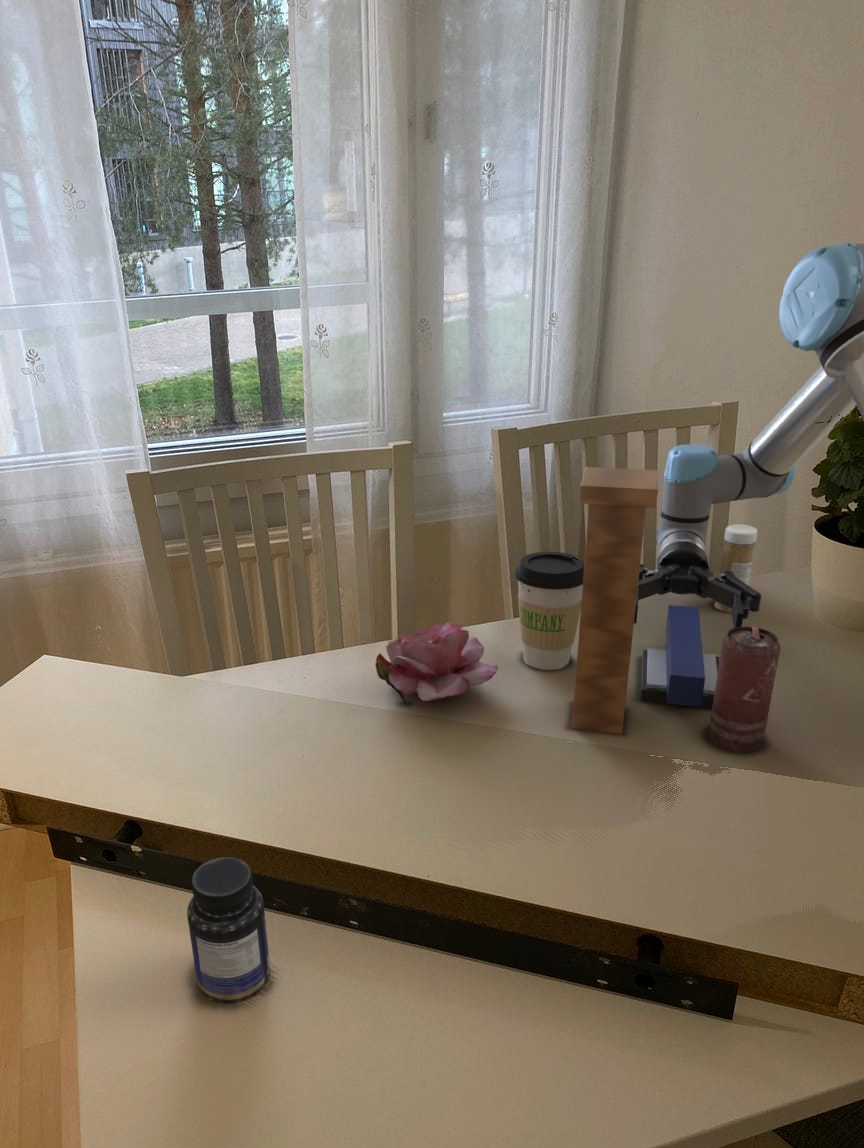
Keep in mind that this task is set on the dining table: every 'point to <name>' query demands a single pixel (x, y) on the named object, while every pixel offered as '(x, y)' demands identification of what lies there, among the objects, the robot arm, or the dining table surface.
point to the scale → (657, 677)
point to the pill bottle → (228, 931)
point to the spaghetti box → (684, 657)
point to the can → (744, 688)
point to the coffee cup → (549, 606)
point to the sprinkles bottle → (737, 554)
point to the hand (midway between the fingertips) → (686, 618)
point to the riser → (609, 591)
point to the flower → (434, 663)
